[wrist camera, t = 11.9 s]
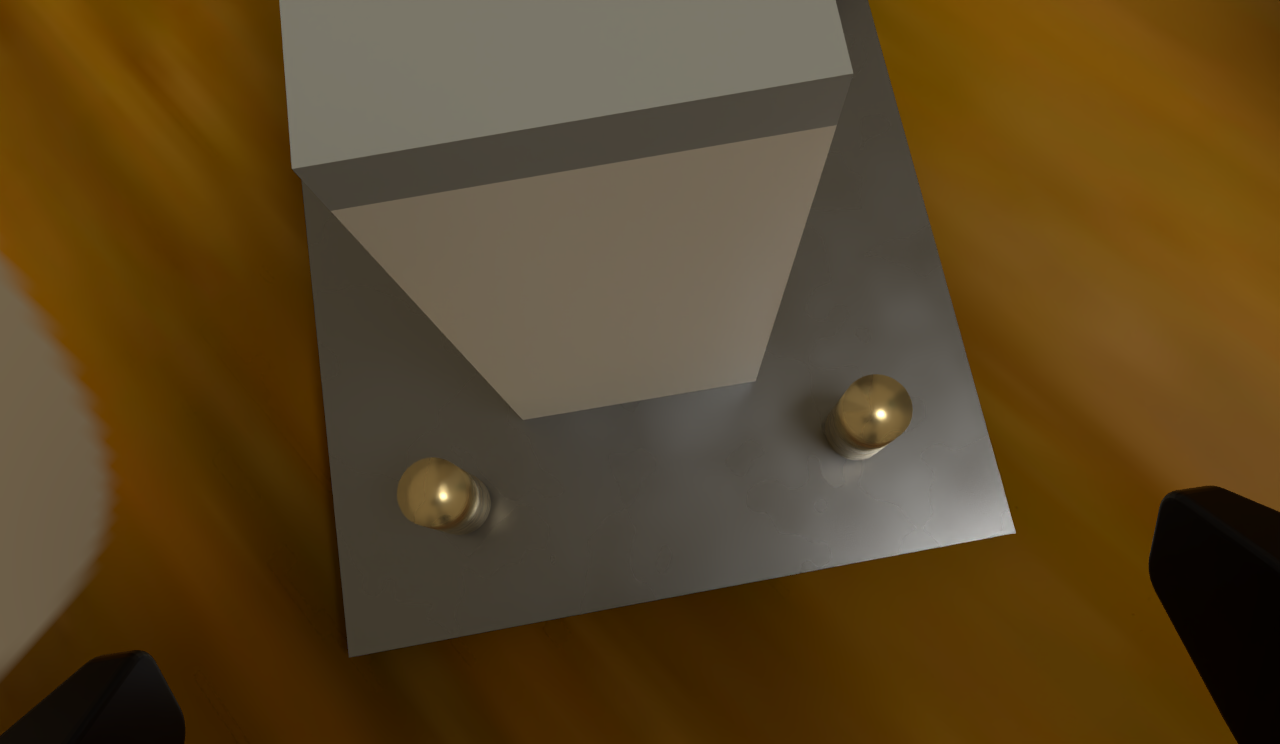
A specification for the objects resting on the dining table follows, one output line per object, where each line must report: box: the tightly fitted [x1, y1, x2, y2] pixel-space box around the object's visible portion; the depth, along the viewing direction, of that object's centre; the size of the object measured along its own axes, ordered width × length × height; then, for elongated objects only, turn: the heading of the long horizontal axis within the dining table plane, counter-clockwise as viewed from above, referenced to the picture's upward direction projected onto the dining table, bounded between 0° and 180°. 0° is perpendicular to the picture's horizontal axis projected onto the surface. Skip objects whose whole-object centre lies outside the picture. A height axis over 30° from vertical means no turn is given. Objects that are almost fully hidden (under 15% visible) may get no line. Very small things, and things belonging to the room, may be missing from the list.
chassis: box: [301, 0, 1016, 657], centre depth 22 cm, size 15×15×4 cm
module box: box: [279, 0, 853, 420], centre depth 16 cm, size 6×6×13 cm
